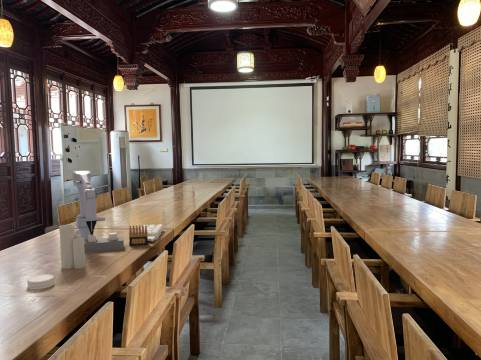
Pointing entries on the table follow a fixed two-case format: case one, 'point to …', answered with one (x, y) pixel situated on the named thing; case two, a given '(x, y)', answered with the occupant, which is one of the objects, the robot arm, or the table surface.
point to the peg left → (92, 238)
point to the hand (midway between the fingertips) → (91, 234)
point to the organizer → (152, 231)
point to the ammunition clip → (139, 239)
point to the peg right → (112, 236)
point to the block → (103, 245)
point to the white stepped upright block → (71, 248)
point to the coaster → (40, 282)
